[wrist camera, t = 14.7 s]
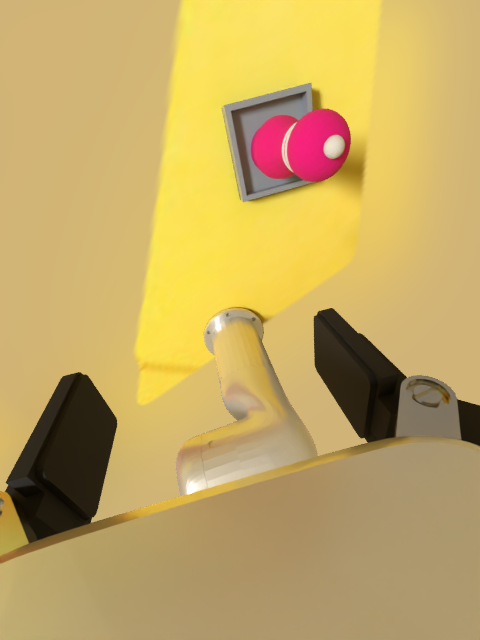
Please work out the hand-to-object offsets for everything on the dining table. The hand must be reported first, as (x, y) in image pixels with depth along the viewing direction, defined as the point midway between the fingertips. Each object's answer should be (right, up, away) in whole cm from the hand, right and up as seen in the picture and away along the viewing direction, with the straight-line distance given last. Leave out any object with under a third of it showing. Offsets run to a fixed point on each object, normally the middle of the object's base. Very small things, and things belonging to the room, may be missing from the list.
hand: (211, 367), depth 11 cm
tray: (+6, +28, +29) cm, 40 cm away
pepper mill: (+6, +27, +28) cm, 40 cm away
